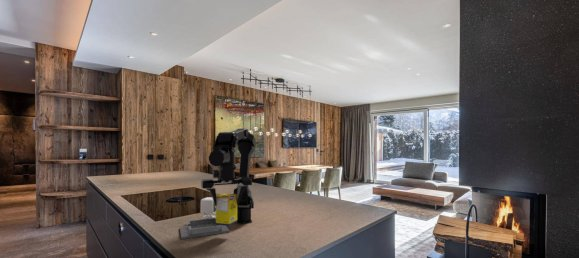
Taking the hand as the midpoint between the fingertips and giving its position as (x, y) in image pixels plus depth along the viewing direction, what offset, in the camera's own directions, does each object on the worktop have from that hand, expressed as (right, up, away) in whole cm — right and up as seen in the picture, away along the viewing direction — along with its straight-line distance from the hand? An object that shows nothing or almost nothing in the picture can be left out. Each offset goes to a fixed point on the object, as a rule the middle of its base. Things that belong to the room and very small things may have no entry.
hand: (226, 204), depth 102 cm
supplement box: (0, -7, 0) cm, 7 cm away
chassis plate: (-11, -13, +7) cm, 19 cm away
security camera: (-14, -14, +23) cm, 30 cm away
